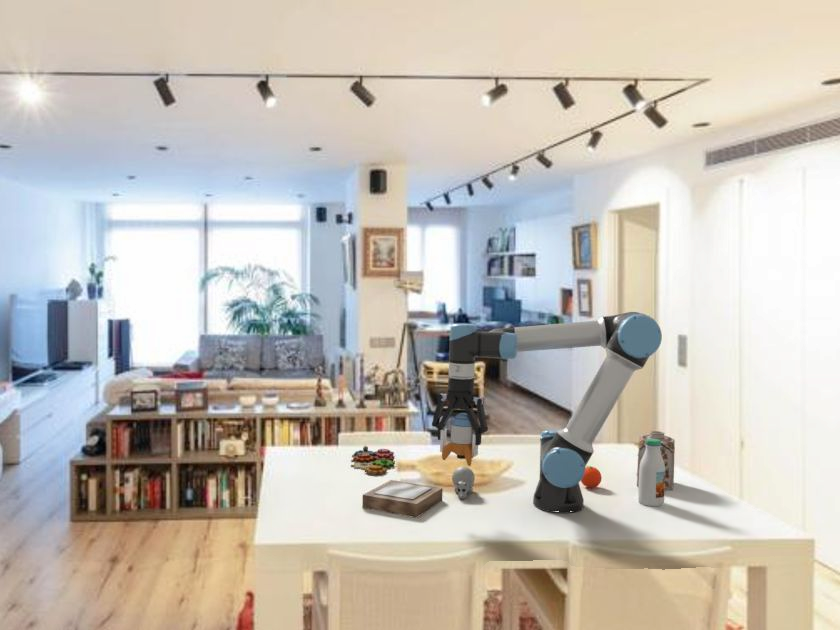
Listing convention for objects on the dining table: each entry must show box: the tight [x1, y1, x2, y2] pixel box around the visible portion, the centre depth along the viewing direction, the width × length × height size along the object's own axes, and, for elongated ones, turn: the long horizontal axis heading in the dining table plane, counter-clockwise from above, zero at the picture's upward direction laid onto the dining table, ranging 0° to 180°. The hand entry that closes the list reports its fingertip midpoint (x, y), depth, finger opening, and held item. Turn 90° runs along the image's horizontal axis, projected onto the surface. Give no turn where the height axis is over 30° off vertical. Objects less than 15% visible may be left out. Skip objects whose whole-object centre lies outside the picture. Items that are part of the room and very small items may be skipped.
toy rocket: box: [441, 412, 475, 467], centre depth 216 cm, size 10×11×15 cm
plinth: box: [361, 479, 443, 518], centre depth 226 cm, size 18×18×4 cm
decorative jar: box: [636, 430, 676, 491], centre depth 251 cm, size 12×12×18 cm
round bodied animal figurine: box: [451, 466, 476, 500], centre depth 236 cm, size 7×12×8 cm, turn 170°
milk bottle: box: [637, 438, 666, 507], centre depth 231 cm, size 8×8×20 cm
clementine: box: [580, 465, 602, 489], centre depth 247 cm, size 8×7×7 cm
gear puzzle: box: [350, 445, 396, 475], centre depth 272 cm, size 31×16×4 cm, turn 4°
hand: (458, 453), depth 217 cm, fingers closed on toy rocket, 9 cm apart
